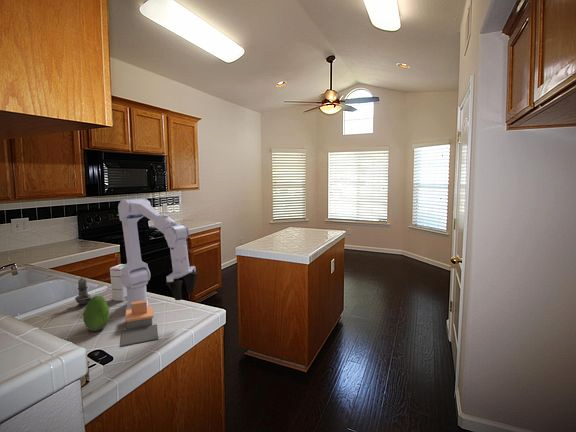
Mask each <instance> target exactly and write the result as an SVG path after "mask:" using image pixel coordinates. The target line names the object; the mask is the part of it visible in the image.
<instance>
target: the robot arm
mask: <svg viewBox="0 0 576 432" xmlns="http://www.w3.org/2000/svg"><path fill="white" fill-rule="evenodd" d="M117 209H118V211H117V212H118V217H119V221H120V222H121V225H122V232H123V239H124V246H125V249H124V250H125V254H126V255H125V257H126V263H125V264H126V265H125V266H124V267H123V268H122V269H121V283H122V285H123V286H124V287H126V289H127V299H126V301H127V302H126V307H125V311H126V310H129V309H131V302H135V301H142V300H146V301H147V307H149V300H148V298H147V297H148V296H147V285H148V283H149V281H150V279H151V271H150V269H149V266H148V263H146V262H144V261H143V260H142V254H141V246H140V240H139V239H140V237H139V230H138V222H139V221H140V219H142V218H144V217H145V218H147V219H148V220H150V221H152V222H153V226H154V228H156V229H157V230H158V231H159V232H161V233H162V234H163V236H164V239H165V240H166V243H167V246H168V248H169V250H170V251H169V252H170V259H171V266H172V272H171V273H170V274H168V275H167V276H166V281H165V285H166V286H167V287H168V288H169V289H170V292H171V293H172V296H173V298H174V300H175V301H181V300H182V297H183V296H182V295H183V293H182V286H183V282H184V283H185V287H186V292H187V294H194V293H195V286H196V285H195V284H196V281H197V277H198V275H199V274H198V271H197V268H196V266H195V265H190V261H189V259H190V258H189V253H188V252H189V250H188V245H187V244H188V243H187V239H188V238H189V237H190V231H189V228H188V227H187V225H186V224H185V223H177V222H176V221H175V220H174V219H172V218H171V217H170V216H169V215H168V214H167V213H165V214H164V213H163V214H160V212H158V211H157V210H156V209H155V208H154V207H153V206H152V204H151V201H150V200H148V199H147V198H135V199H134V198H132V199H122V200H120V202H119V204H118V206H117ZM180 278H183V280H184V281H183V280H181V279H180ZM179 279H180V280H179Z"/></svg>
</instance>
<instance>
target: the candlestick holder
mask: <svg viewBox="0 0 576 432" xmlns="http://www.w3.org/2000/svg"><path fill="white" fill-rule="evenodd" d="M77 283H78V287H77V290H78V295H77V296H75V297H74V299H75V302H76V303H77V305H76V308H78V309H83V308H86V306H87V304H88V302H89V300H90V299H91V298H92V297H93V296H92V294H90V293H88V292H89V291H88V288H89V287H88V286H87V285H88V284H87V283H88V282H87V280H86V279H85V278H83V276H81V277H80V279H79V280H78V282H77Z"/></svg>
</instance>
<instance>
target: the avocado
mask: <svg viewBox="0 0 576 432" xmlns="http://www.w3.org/2000/svg"><path fill="white" fill-rule="evenodd" d="M84 308H85V309H84V312H83V315H82V319H83V323H84V325H85V327H86V328H87V329H88V330H90V331H91V332H92V331H95V332H96V331H101V330H102V329H104V328H105V327H106V326H107V325H108V323H109V320H110V316H111V315H110V308H109V306H108V303H107V301H106V300H105V298H104V296H102V295H96V296H92V297H91V299H90V300H89V302H88V304H87V306H86V307H84Z"/></svg>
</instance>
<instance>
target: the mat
mask: <svg viewBox="0 0 576 432" xmlns="http://www.w3.org/2000/svg"><path fill="white" fill-rule="evenodd" d="M158 332H159V331H158V324H157V323H155V324H152V325H148V326H142V327H137V328H131V329H127V328H125V329H122V331H121V338H120V339H121V340H120V347H125V346H130V345H131V346H132V345H136V344H141V343H146V342H152V341H158V340H159V333H158Z"/></svg>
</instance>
